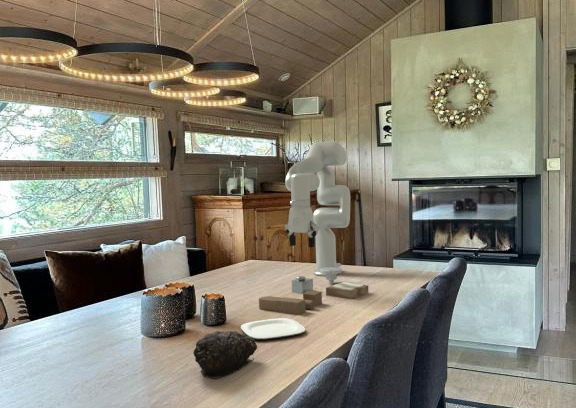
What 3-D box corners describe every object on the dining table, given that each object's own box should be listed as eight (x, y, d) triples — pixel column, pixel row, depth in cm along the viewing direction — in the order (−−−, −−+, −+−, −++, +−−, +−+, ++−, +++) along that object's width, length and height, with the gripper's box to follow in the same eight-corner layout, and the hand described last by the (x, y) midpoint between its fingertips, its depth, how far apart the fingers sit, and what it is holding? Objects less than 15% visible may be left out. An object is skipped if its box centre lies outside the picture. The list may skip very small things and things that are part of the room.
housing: (302, 289, 215) (302, 274, 214) (313, 291, 211) (312, 276, 211) (291, 292, 209) (291, 277, 209) (302, 294, 206) (302, 279, 206)
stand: (343, 289, 212) (343, 281, 211) (368, 293, 204) (368, 284, 204) (326, 295, 202) (325, 286, 202) (351, 299, 195) (351, 290, 195)
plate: (236, 328, 163) (236, 323, 163) (289, 321, 169) (289, 316, 169) (253, 345, 146) (252, 339, 146) (311, 336, 152) (311, 331, 152)
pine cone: (263, 358, 134) (261, 321, 134) (220, 383, 119) (219, 341, 118) (231, 353, 140) (229, 316, 139) (186, 376, 124) (184, 335, 124)
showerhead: (319, 269, 219) (320, 265, 229) (320, 286, 220) (320, 281, 229) (341, 268, 218) (341, 264, 228) (342, 285, 219) (342, 280, 229)
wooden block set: (301, 300, 175) (257, 295, 184) (301, 316, 175) (258, 310, 184) (324, 289, 189) (282, 285, 198) (324, 304, 189) (283, 299, 199)
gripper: (278, 204, 211) (279, 246, 211) (312, 205, 200) (313, 248, 200) (290, 203, 216) (291, 244, 217) (323, 204, 205) (324, 246, 206)
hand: (302, 246), depth 209 cm, fingers open, 9 cm apart
